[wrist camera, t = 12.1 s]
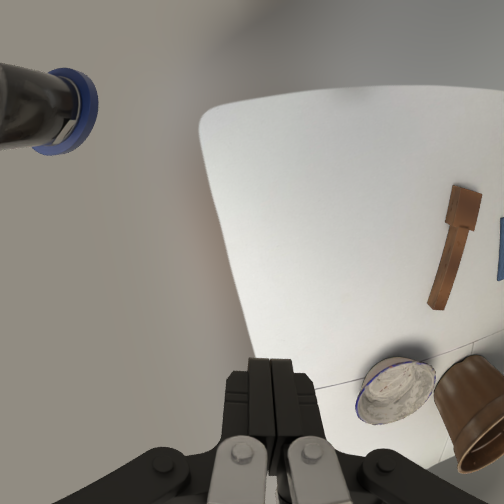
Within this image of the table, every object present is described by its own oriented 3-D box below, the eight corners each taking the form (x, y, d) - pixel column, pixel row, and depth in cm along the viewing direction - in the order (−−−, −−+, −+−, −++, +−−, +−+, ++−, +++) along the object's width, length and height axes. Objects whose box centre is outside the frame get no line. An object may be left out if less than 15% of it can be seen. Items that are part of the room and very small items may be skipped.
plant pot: (507, 345, 42) (554, 395, 27) (467, 409, 48) (500, 463, 32) (451, 341, 42) (502, 407, 26) (408, 414, 47) (439, 481, 31)
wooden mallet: (442, 304, 39) (449, 310, 37) (421, 302, 39) (427, 309, 37) (473, 191, 34) (482, 194, 32) (452, 184, 34) (461, 187, 32)
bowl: (348, 353, 42) (357, 375, 37) (428, 334, 41) (442, 352, 36) (347, 412, 46) (354, 434, 41) (418, 394, 45) (428, 413, 41)
